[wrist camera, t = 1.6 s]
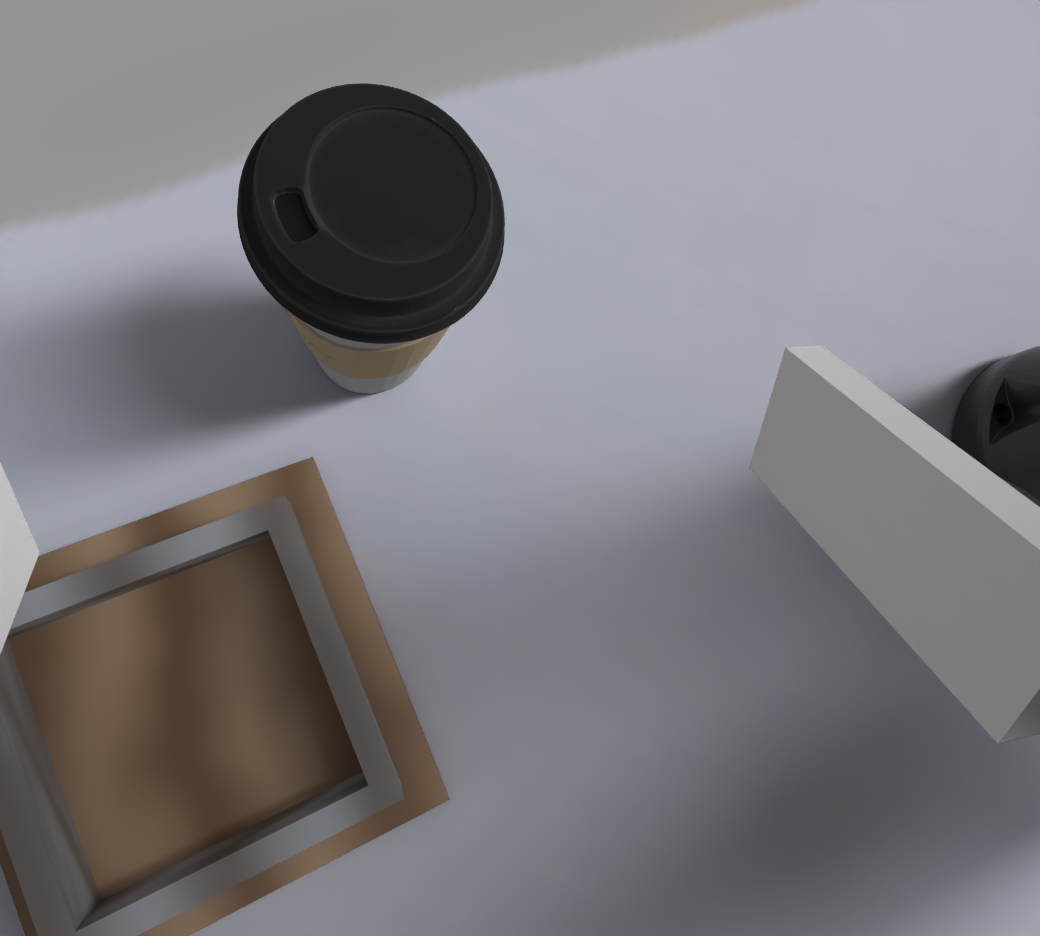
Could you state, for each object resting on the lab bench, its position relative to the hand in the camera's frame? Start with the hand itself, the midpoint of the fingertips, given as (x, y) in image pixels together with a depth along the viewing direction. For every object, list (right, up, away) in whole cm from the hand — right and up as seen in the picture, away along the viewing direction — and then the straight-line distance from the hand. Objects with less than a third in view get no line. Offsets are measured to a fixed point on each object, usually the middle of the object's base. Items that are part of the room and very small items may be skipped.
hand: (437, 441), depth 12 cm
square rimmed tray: (-14, -11, +21) cm, 28 cm away
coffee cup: (-7, +6, +26) cm, 28 cm away
